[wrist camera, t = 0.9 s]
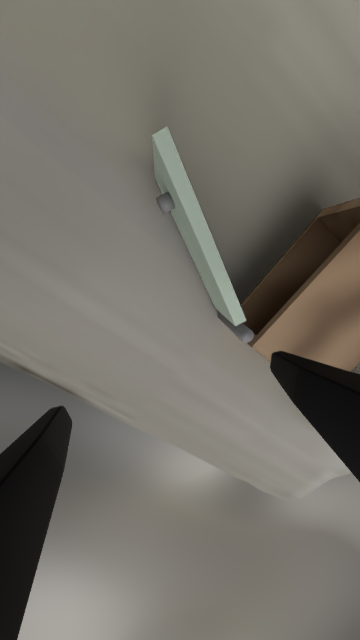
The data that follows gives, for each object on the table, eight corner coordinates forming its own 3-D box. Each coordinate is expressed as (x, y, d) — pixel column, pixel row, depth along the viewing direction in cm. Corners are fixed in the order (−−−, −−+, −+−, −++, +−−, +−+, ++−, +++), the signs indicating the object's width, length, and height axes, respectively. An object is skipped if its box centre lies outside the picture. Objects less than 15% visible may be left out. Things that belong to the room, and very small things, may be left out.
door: (166, 171, 16) (168, 122, 10) (230, 317, 21) (255, 338, 15) (145, 184, 16) (136, 142, 10) (213, 325, 21) (233, 349, 15)
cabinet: (371, 271, 21) (456, 275, 15) (279, 363, 24) (320, 399, 18) (322, 209, 18) (401, 185, 12) (225, 322, 21) (251, 347, 15)
